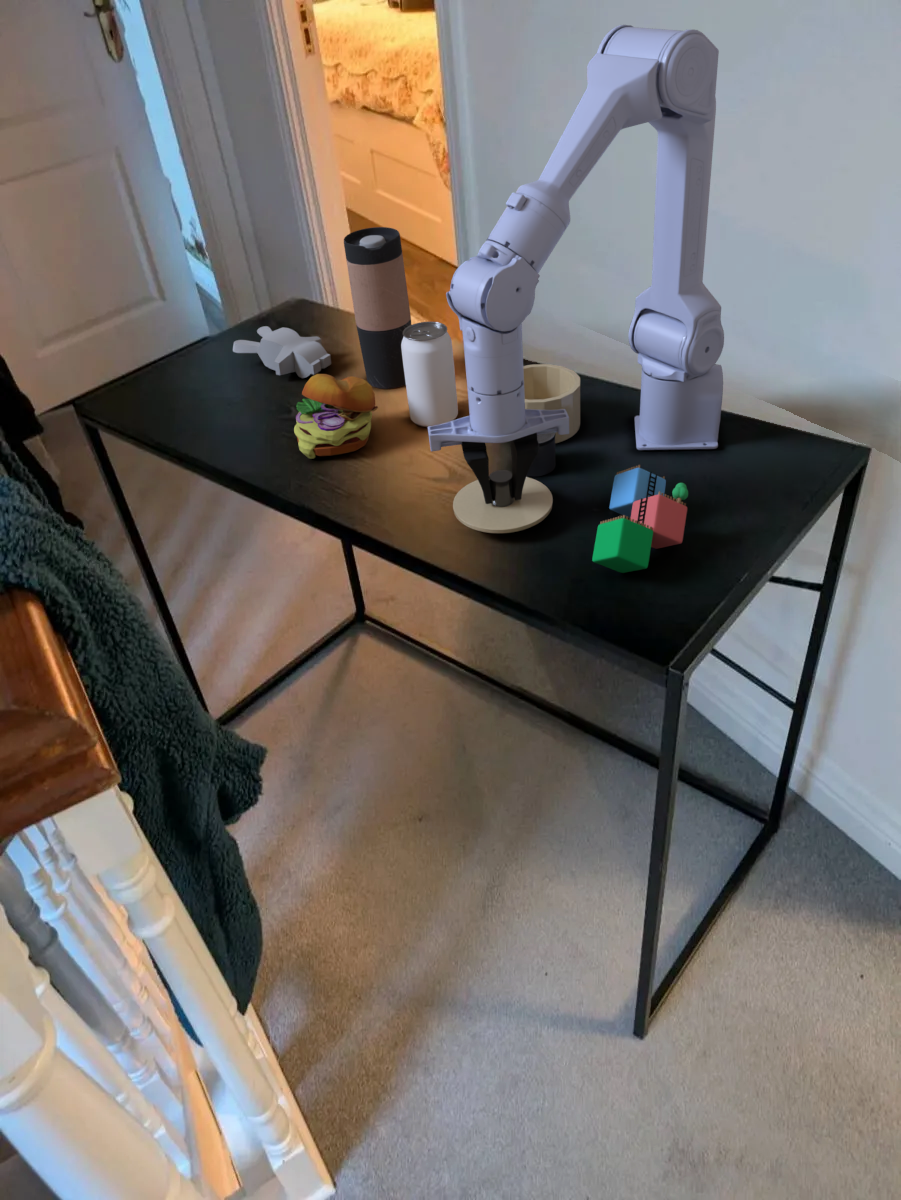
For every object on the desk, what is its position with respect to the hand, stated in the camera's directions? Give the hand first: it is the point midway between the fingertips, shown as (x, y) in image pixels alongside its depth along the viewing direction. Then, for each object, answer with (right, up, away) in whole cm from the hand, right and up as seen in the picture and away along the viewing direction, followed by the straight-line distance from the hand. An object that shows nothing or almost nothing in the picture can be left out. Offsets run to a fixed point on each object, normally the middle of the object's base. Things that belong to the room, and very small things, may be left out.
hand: (502, 497), depth 98 cm
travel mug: (-14, +21, +32) cm, 40 cm away
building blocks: (+13, -6, -5) cm, 15 cm away
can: (-8, +13, +21) cm, 26 cm away
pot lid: (0, -1, +1) cm, 1 cm away
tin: (+4, +5, +9) cm, 11 cm away
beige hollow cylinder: (+6, +11, +17) cm, 21 cm away
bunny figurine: (-30, +24, +38) cm, 54 cm away
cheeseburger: (-20, +9, +18) cm, 29 cm away
